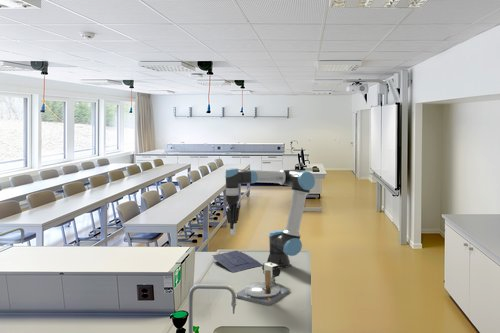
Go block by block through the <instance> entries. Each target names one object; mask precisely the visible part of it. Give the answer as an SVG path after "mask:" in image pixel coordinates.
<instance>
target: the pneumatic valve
mask: <svg viewBox="0 0 500 333" xmlns="http://www.w3.org/2000/svg"><path fill="white" fill-rule="evenodd" d="M261 269H262V271H263V272H262V273H263V274H264V275H265V271H266V270H270V271H271V283H274V284H276V281H277V280H276V278H277V277H280V274H281V268H279V265H276V264H275V263H274V264H273V263H271V262H267V261H266V262H264V263H263V264H262V266H261Z"/></svg>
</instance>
